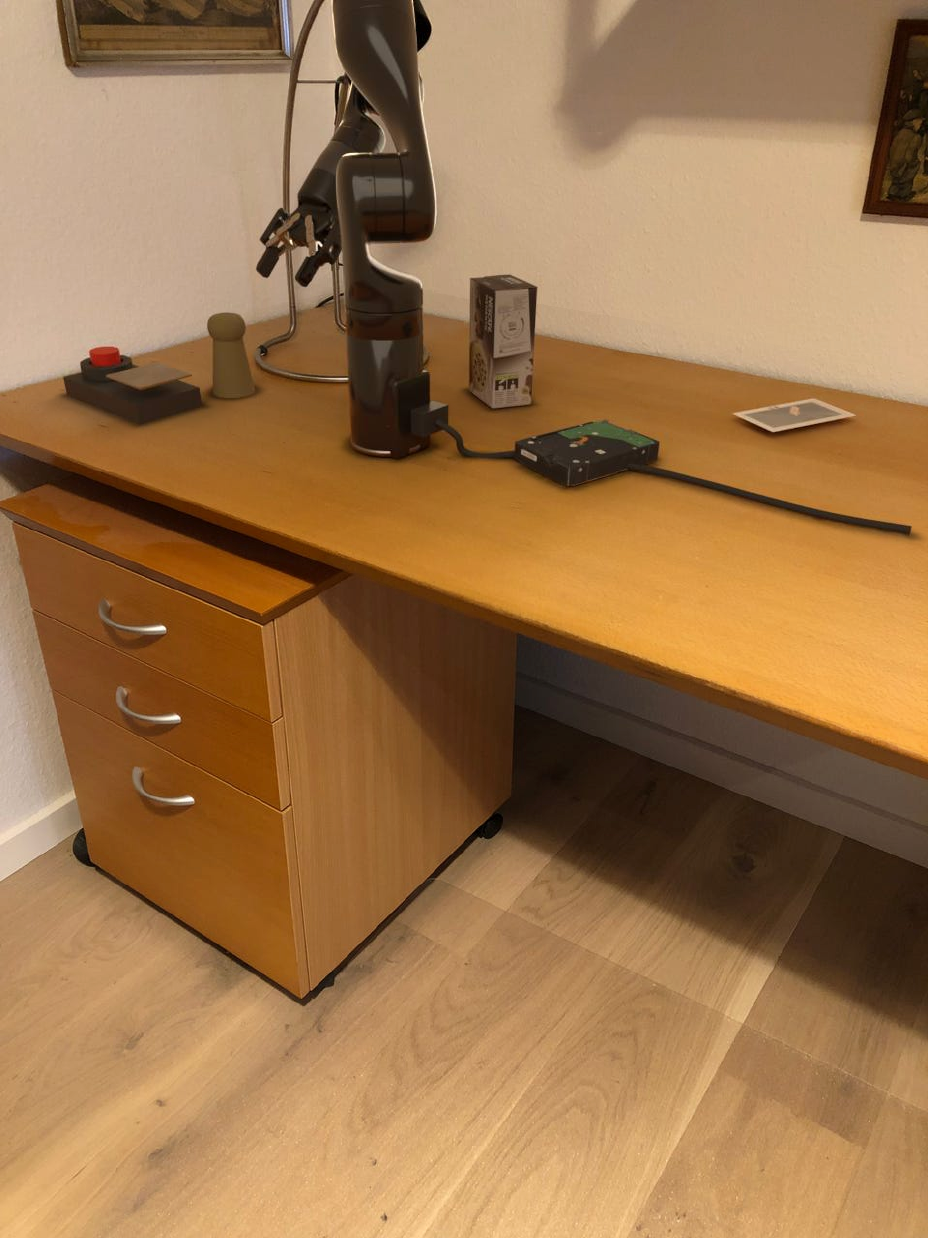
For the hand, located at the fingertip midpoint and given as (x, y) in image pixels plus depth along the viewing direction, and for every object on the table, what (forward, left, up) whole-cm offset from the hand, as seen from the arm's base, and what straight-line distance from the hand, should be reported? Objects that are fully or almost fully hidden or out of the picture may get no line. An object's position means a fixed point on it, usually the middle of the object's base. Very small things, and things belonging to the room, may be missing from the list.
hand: (280, 278), depth 136 cm
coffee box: (-30, -14, -14) cm, 36 cm away
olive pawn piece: (0, +10, -14) cm, 18 cm away
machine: (+7, +22, -14) cm, 27 cm away
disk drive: (-53, -2, -14) cm, 55 cm away
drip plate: (+2, +22, -10) cm, 24 cm away
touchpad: (-66, -33, -14) cm, 75 cm away
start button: (+12, +22, -10) cm, 27 cm away
